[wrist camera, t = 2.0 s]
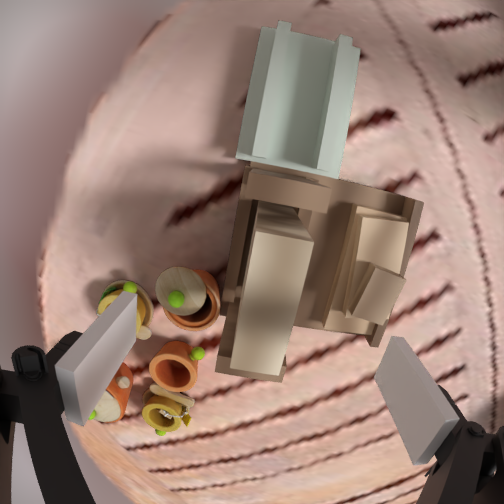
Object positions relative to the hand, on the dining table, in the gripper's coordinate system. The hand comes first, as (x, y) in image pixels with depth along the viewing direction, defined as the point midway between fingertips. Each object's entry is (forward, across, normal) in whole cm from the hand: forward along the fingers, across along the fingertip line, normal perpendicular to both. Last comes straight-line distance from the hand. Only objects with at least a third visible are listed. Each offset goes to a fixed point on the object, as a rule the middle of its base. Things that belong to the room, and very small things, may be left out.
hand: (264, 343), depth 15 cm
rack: (+18, +6, 0) cm, 19 cm away
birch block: (+17, 0, 0) cm, 17 cm away
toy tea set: (+19, -11, -15) cm, 27 cm away
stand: (+18, +1, +15) cm, 24 cm away
